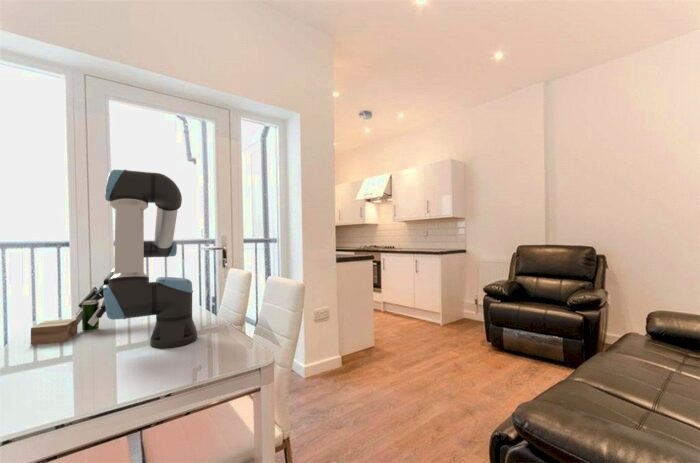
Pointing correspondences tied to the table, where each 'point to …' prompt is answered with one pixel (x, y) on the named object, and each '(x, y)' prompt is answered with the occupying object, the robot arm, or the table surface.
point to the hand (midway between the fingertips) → (82, 323)
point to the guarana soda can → (89, 315)
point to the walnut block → (54, 331)
